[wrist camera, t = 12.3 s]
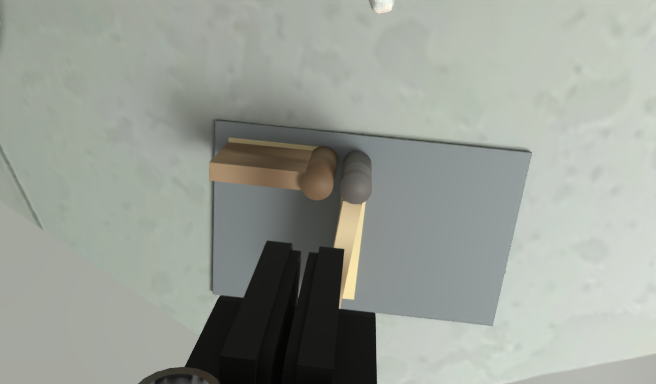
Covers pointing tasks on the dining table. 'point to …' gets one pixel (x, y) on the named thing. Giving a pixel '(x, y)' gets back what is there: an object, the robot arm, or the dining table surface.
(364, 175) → the tan wooden board
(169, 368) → the robot arm
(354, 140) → the card
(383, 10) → the bull figurine
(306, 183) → the fence section
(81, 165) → the dining table surface
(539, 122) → the dining table surface
